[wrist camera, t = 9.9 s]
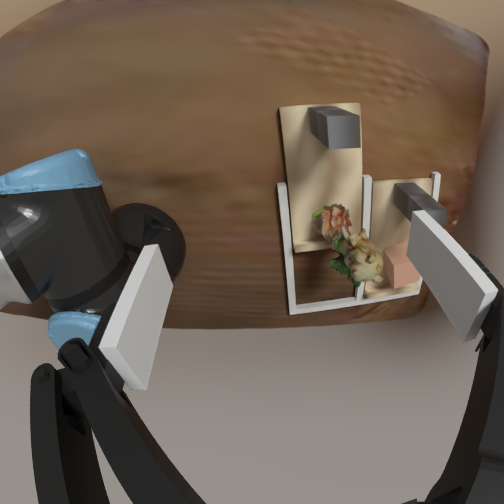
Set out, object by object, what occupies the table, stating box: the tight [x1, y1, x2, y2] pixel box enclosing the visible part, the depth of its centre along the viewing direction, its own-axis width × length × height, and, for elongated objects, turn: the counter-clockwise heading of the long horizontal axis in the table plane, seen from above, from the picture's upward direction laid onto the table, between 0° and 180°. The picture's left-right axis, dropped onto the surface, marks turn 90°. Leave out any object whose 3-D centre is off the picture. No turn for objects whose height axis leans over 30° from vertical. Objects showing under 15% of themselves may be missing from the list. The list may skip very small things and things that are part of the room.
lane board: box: [277, 172, 441, 315], centre depth 47 cm, size 27×25×1 cm
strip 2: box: [363, 178, 447, 299], centre depth 42 cm, size 11×22×11 cm, turn 8°
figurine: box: [311, 204, 383, 288], centre depth 39 cm, size 9×8×15 cm
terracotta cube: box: [383, 241, 420, 289], centre depth 46 cm, size 5×5×5 cm
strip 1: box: [279, 103, 362, 253], centre depth 37 cm, size 11×22×11 cm, turn 8°
